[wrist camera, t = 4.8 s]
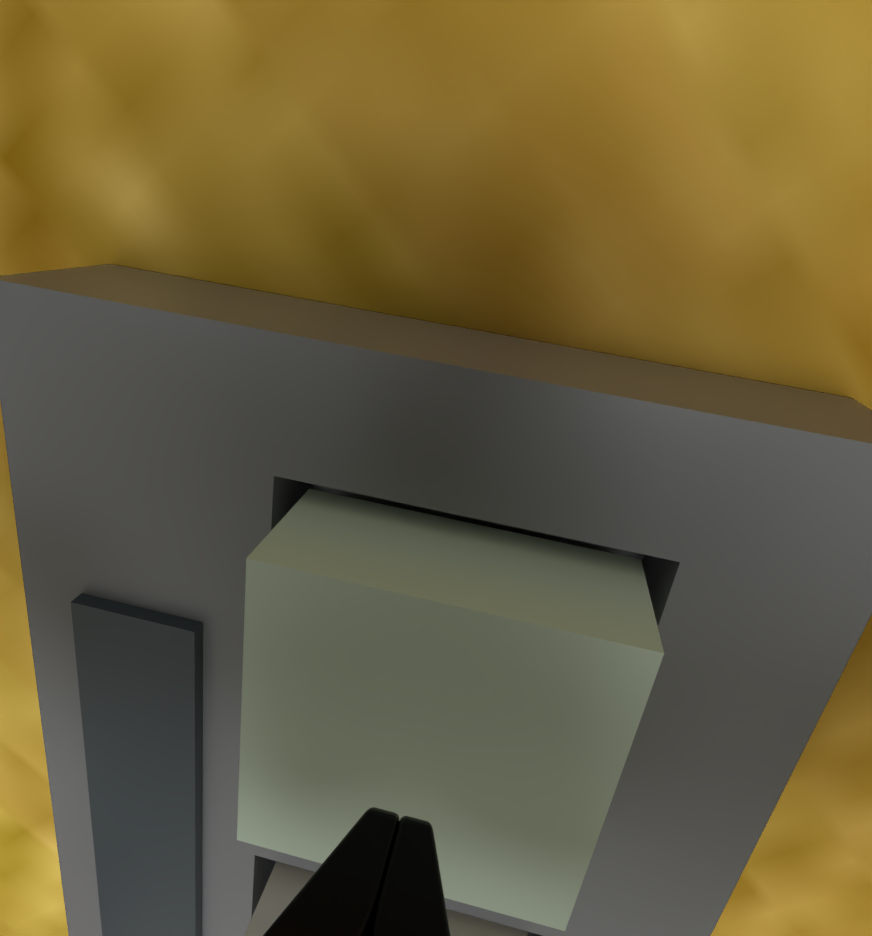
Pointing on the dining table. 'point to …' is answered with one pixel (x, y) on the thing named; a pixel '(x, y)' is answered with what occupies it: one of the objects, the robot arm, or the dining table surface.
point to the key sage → (441, 693)
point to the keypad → (422, 490)
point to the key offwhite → (289, 880)
